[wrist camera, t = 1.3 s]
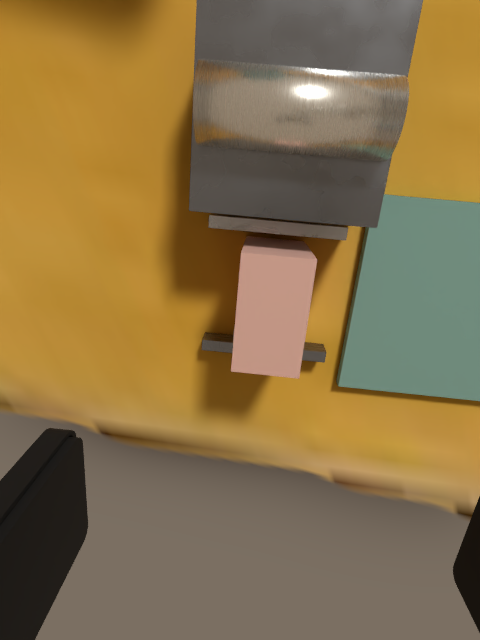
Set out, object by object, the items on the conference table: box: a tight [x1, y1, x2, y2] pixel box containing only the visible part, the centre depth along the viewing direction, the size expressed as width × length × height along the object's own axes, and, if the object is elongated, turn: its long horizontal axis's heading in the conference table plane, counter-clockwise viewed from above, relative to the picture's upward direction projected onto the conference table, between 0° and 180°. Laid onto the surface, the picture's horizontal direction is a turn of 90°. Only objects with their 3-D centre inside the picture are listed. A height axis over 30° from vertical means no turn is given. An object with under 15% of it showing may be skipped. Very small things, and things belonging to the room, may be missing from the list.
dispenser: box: [189, 0, 423, 362], centre depth 22 cm, size 10×20×8 cm, turn 175°
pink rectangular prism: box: [231, 236, 317, 378], centre depth 24 cm, size 4×7×7 cm, turn 175°
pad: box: [336, 195, 480, 401], centre depth 27 cm, size 12×14×1 cm
